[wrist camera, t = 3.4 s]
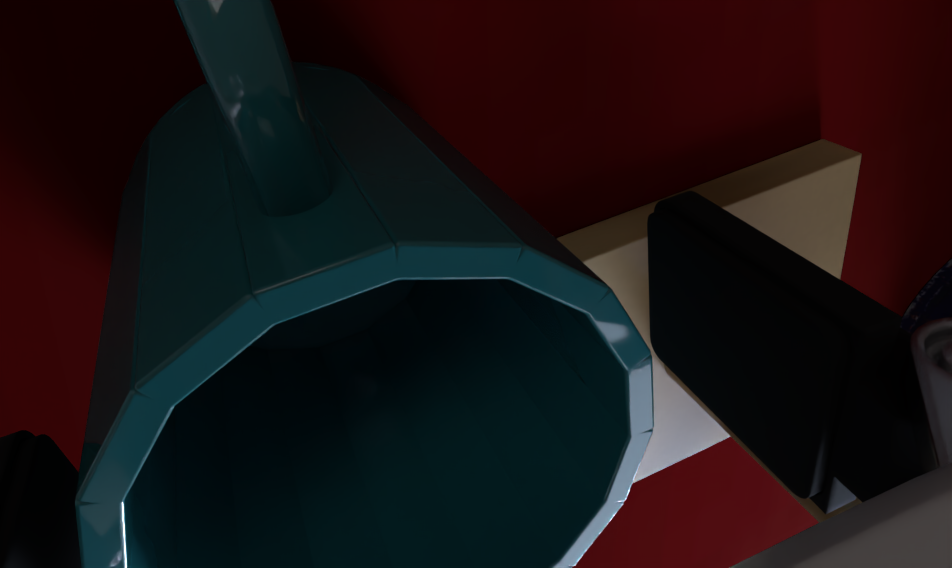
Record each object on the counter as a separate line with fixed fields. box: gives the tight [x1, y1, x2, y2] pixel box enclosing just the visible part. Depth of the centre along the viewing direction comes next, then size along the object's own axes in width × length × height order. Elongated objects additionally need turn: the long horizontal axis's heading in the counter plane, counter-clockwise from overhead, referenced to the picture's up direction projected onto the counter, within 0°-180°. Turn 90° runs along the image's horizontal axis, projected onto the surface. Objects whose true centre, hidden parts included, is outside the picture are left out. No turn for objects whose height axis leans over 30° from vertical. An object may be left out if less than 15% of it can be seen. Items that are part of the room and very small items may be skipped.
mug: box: [74, 0, 654, 568], centre depth 11 cm, size 11×7×9 cm
